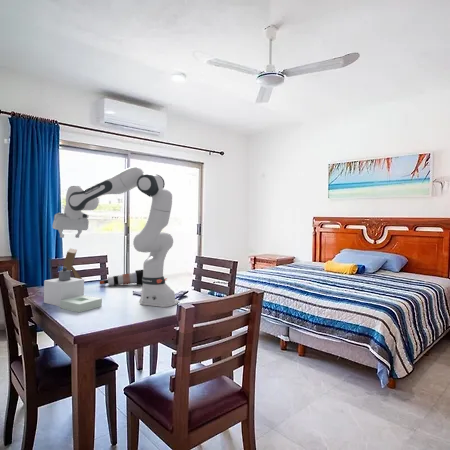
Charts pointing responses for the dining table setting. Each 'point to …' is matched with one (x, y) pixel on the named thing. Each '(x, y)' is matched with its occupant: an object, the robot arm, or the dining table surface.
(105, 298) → the dining table surface
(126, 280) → the grey banded tapered cylinder
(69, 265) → the photo frame
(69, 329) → the dining table surface
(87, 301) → the plate
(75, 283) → the block
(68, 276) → the plug
